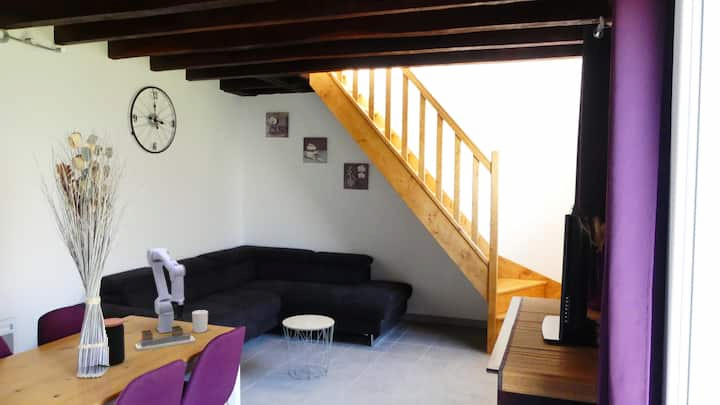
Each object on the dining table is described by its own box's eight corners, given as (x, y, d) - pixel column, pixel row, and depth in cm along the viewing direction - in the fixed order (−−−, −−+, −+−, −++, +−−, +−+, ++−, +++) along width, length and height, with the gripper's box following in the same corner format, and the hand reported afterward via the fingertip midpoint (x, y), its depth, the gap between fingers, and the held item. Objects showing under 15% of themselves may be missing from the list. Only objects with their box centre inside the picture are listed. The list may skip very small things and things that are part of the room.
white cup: (205, 333, 272) (205, 313, 271) (190, 333, 272) (189, 313, 271) (210, 328, 280) (209, 310, 279) (195, 328, 280) (195, 310, 279)
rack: (140, 341, 258) (140, 330, 257) (181, 335, 267) (180, 325, 267) (142, 345, 252) (142, 333, 252) (183, 338, 262) (183, 328, 262)
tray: (135, 347, 249) (135, 344, 249) (191, 338, 263) (191, 335, 263) (137, 351, 243) (137, 348, 243) (195, 342, 257) (195, 339, 257)
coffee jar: (93, 362, 228) (92, 321, 228) (118, 356, 236) (117, 316, 235) (103, 368, 221) (102, 326, 220) (129, 362, 229) (128, 321, 228)
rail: (140, 341, 248) (141, 342, 245) (188, 333, 259) (190, 335, 256) (140, 347, 248) (141, 349, 245) (188, 339, 259) (190, 341, 256)
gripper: (166, 287, 269) (167, 314, 269) (172, 292, 256) (173, 320, 257) (180, 286, 272) (181, 312, 273) (187, 291, 260) (187, 318, 260)
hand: (178, 316), depth 265 cm, fingers open, 7 cm apart
